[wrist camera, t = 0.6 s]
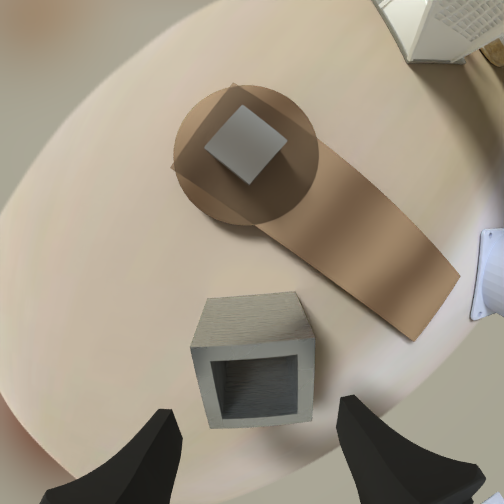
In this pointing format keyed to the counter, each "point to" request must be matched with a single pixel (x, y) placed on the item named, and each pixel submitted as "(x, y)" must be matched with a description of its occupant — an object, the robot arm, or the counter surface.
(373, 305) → the walnut base
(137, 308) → the counter surface
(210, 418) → the steel collar
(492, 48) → the sprinkles bottle
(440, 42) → the skyscraper
